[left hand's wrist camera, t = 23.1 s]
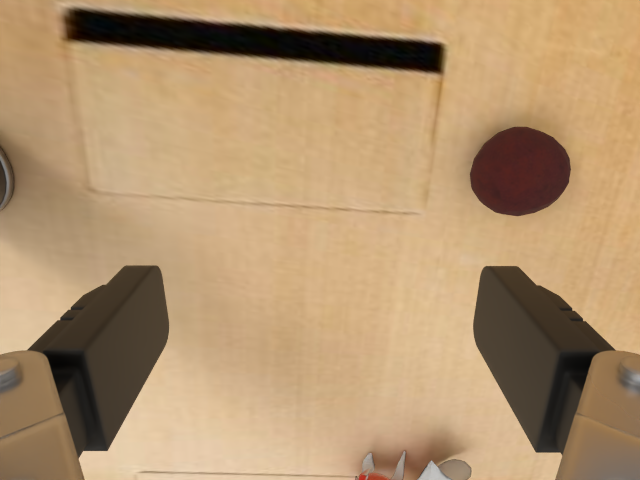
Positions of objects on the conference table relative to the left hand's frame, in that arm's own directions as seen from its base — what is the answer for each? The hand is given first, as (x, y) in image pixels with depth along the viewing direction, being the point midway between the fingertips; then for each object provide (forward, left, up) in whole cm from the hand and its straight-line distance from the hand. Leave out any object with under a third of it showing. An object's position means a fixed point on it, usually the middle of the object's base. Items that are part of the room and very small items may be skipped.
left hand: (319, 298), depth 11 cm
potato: (+8, +15, -31) cm, 35 cm away
